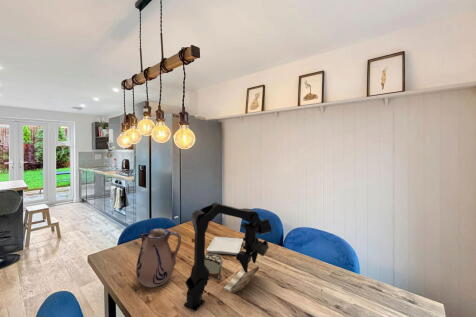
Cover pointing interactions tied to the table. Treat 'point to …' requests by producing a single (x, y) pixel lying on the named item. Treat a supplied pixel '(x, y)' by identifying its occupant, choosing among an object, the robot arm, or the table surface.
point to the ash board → (235, 280)
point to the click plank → (245, 280)
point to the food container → (213, 265)
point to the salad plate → (225, 245)
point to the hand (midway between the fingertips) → (250, 267)
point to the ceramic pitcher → (156, 257)
